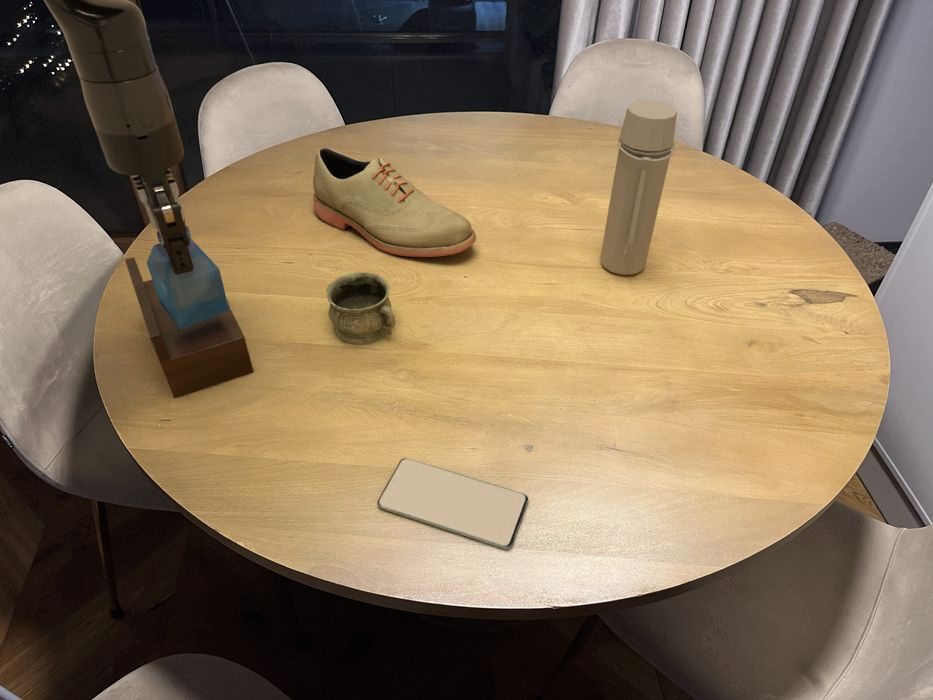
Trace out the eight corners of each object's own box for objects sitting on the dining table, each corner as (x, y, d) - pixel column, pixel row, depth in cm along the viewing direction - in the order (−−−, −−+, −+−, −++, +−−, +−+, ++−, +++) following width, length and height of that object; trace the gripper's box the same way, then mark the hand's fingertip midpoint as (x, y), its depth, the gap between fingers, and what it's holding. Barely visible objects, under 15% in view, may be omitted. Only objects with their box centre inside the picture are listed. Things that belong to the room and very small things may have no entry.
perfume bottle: (208, 286, 87) (186, 202, 79) (229, 310, 83) (208, 225, 75) (160, 304, 84) (132, 218, 76) (180, 329, 80) (152, 243, 72)
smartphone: (510, 548, 68) (375, 504, 71) (510, 551, 68) (375, 507, 72) (530, 495, 73) (402, 456, 76) (529, 498, 73) (402, 459, 77)
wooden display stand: (253, 372, 87) (237, 311, 81) (174, 398, 84) (150, 337, 77) (218, 298, 99) (202, 239, 92) (147, 318, 95) (124, 259, 89)
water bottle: (597, 249, 110) (623, 96, 94) (646, 254, 109) (681, 101, 93) (595, 282, 103) (623, 123, 87) (648, 287, 102) (685, 128, 86)
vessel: (415, 324, 95) (413, 288, 91) (375, 360, 89) (372, 323, 85) (350, 296, 100) (345, 260, 96) (308, 327, 94) (301, 291, 90)
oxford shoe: (454, 277, 104) (454, 210, 96) (293, 222, 115) (281, 158, 107) (488, 243, 111) (491, 178, 103) (334, 195, 122) (325, 133, 115)
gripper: (84, 99, 71) (135, 239, 82) (103, 152, 61) (157, 302, 73) (159, 86, 73) (198, 224, 85) (188, 135, 64) (227, 283, 75)
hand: (179, 259), depth 79 cm, fingers closed on perfume bottle, 4 cm apart
